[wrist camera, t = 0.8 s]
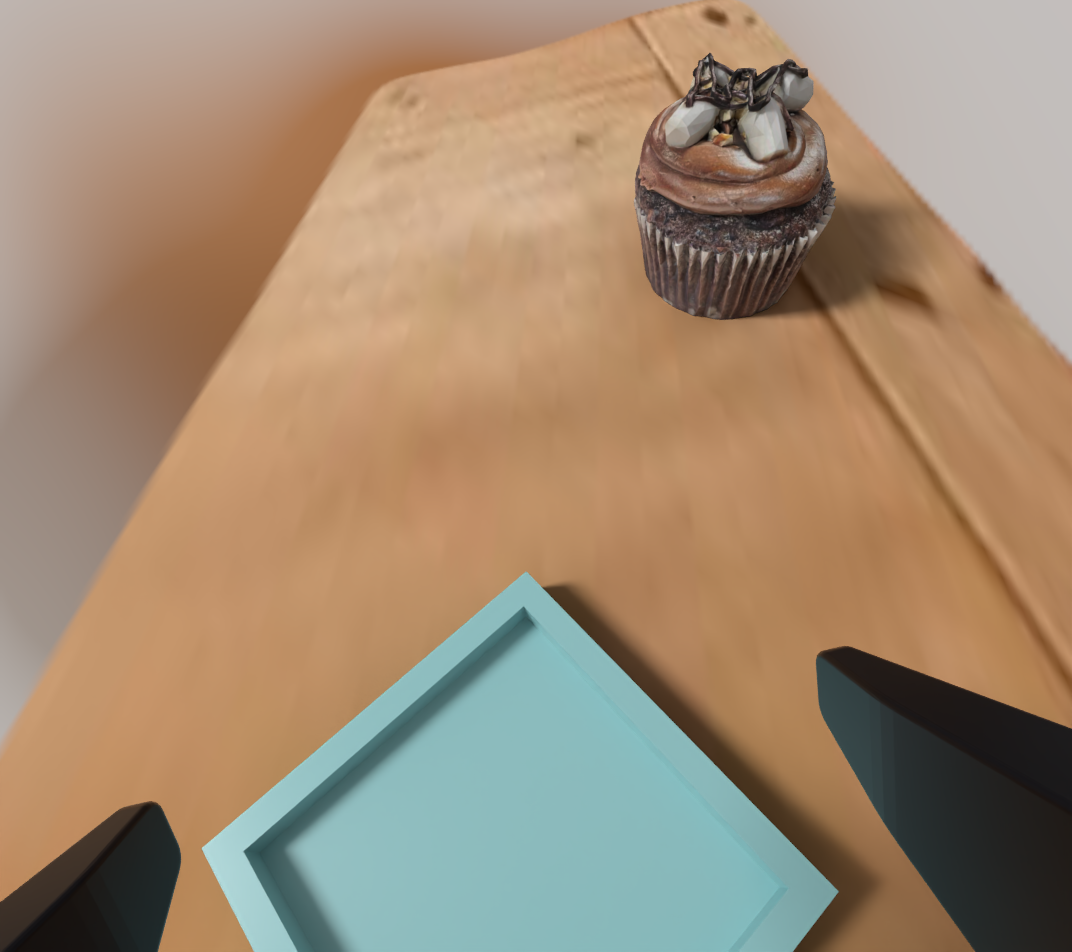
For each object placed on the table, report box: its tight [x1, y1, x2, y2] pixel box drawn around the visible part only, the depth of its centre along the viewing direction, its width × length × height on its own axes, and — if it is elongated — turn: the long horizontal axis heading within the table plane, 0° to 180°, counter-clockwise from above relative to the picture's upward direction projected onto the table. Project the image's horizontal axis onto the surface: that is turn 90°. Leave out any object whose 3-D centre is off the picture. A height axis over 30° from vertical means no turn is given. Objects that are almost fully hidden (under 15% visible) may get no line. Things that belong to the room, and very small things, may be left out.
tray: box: [202, 572, 839, 952], centre depth 21 cm, size 14×14×2 cm
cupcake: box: [634, 53, 836, 320], centre depth 32 cm, size 10×10×10 cm
